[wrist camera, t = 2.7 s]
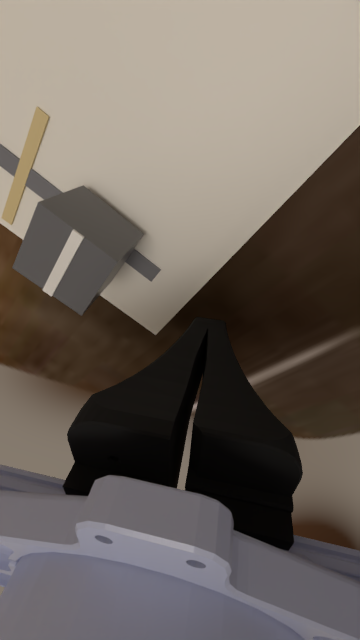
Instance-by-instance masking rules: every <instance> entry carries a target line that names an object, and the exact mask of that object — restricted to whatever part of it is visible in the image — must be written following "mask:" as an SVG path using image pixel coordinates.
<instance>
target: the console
mask: <svg viewBox="0 0 360 640" xmlns="http://www.w3.org/2000/svg"><path fill="white" fill-rule="evenodd" d="M359 125H360V0H0V223H1V224H2V225H3V226H5V227H6V228H8V229H9V230H10V231H12V232H13V233H15V234H16V235H17V236H19V237H20V238H21V239H23V240H24V237H25V234H26V232H27V229H28V227H29V224H30V222H31V219H32V217H33V214H34V211H35V209H36V206H37V204H38V202H39V201H42V200H45V199H47V198H50V197H53V196H56V195H58V194H61V193H64V192H66V191H69V190H72V189H75V188H77V187H80V186H83V185H84V186H85V187H86V188H87V189H89V190H90V191H91V192H92V193H94V194H95V195H96V196H97V197H99V198H100V199H101V200H102V201H104V202H105V203H106V204H107V205H108V206H110V207H111V208H112V209H113V210H115V211H116V212H117V213H118V214H120V215H121V216H122V217H123V218H125V219H126V220H127V221H128V222H130V223H131V224H132V225H133V226H135V227H136V228H137V229H138V230H140V231H141V232H142V233H143V234H144V235H143V237H142V238H141V240H140V241H139V243H138V244H137V245H136V247H135V248H134V250H133V251H132V253H131V254H130V255H129V257H128V258H127V260H126V261H125V263H124V264H123V266H122V267H121V268H120V270H119V271H118V273H117V274H116V276H115V277H114V279H113V280H112V281H111V283H110V284H109V285H108V286H107V287H106V288H105V289H104V291H103V292H102V293H101V294H100V295H101V296H102V297H103V298H105V299H106V300H108V301H109V302H110V303H112V304H113V305H114V306H116V307H117V308H119V309H120V310H121V311H123V312H124V313H126V314H127V315H128V316H130V317H131V318H133V319H134V320H135V321H137V322H138V323H139V324H141V325H142V326H144V327H145V328H146V329H148V330H149V331H151V332H152V333H153V334H155V335H156V334H157V333H158V332H159V331H160V330H161V329H162V328H163V327H164V326H165V325H166V324H167V323H168V322H169V321H170V320H171V319H172V318H173V317H174V316H175V315H176V314H177V313H178V312H179V311H180V310H181V308H182V307H183V306H184V305H185V304H186V303H187V302H188V301H189V300H190V299H191V298H192V297H193V296H194V295H195V294H196V293H197V292H198V291H199V290H200V289H201V288H202V287H203V286H204V285H205V284H206V283H207V282H208V281H209V280H210V279H211V278H212V277H213V276H214V275H215V273H216V272H217V271H218V270H219V269H220V268H221V267H222V266H223V265H224V264H225V263H226V262H227V261H228V260H229V259H230V258H231V257H232V256H233V255H234V254H235V253H236V252H237V251H238V250H239V249H240V248H241V247H242V246H243V245H244V244H245V243H246V242H247V241H248V240H249V238H250V237H251V236H252V235H253V234H254V233H255V232H256V231H257V230H258V229H259V228H260V227H261V226H262V225H263V224H264V223H265V222H266V221H267V220H268V219H269V218H270V217H271V216H272V215H273V214H274V213H275V212H276V211H277V210H278V209H279V208H280V207H281V206H282V205H283V204H284V202H285V201H286V200H287V199H288V198H289V197H290V196H291V195H292V194H293V193H294V192H295V191H296V190H297V189H298V188H299V187H300V186H301V185H302V184H303V183H304V182H305V181H306V180H307V179H308V178H309V177H310V176H311V175H312V174H313V173H314V172H315V171H316V170H317V169H318V167H319V166H320V165H321V164H322V163H323V162H324V161H325V160H326V159H327V158H328V157H329V156H330V155H331V154H332V153H333V152H334V151H335V150H336V149H337V148H338V147H339V146H340V145H341V144H342V143H343V142H344V141H345V140H346V139H347V138H348V137H349V136H350V135H351V134H352V132H353V131H354V130H355V129H356V128H357V127H358V126H359Z"/></svg>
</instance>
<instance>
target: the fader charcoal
mask: <svg viewBox="0 0 360 640" xmlns="http://www.w3.org/2000/svg"><path fill="white" fill-rule="evenodd" d="M143 235H144V234H143V233H142V232H141V231H140V230H138V229H137V228H136V227H135V226H133V225H132V224H131V223H130V222H128V221H127V220H126V219H125V218H123V217H122V216H121V215H120V214H118V213H117V212H116V211H115V210H113V209H112V208H111V207H110V206H108V205H107V204H106V203H105V202H104V201H102V200H101V199H100V198H99V197H97V196H96V195H95V194H94V193H92V192H91V191H90V190H89V189H87V188H86V187H85V186H84V185H83V186H80V187H77V188H75V189H72V190H69V191H66V192H64V193H61V194H58V195H56V196H53V197H50V198H47V199H45V200H42V201H39V202H38V204H37V206H36V209H35V211H34V214H33V217H32V219H31V222H30V224H29V227H28V229H27V232H26V234H25V237H24V240H23V242H22V245H21V247H20V250H19V252H18V255H17V258H16V260H15V263H14V265H13V269H15V270H16V271H18V272H19V273H20V274H22V275H23V276H25V277H26V278H28V279H29V280H31V281H32V282H34V283H35V284H36V285H38V286H39V287H41V288H42V289H43V291H44V292H46V293H47V294H49V295H50V296H51V297H52V296H54V297H55V298H57V299H58V300H60V301H61V302H62V303H64V304H65V305H67V306H68V307H70V308H71V309H73V310H74V311H76V312H77V313H78V314H80V315H81V316H82V315H83V313H84V312H85V311H86V310H87V309H88V308H89V307H90V305H91V304H92V303H93V302H94V301H95V300H96V299H97V297H98V296H99V295H100V294H101V293H102V292H103V291H104V289H105V288H106V287H107V286H108V285H109V284H110V283H111V281H112V280H113V279H114V277H115V276H116V274H117V273H118V271H119V270H120V268H121V267H122V266H123V264H124V263H125V261H126V260H127V258H128V257H129V255H130V254H131V253H132V251H133V250H134V248H135V247H136V245H137V244H138V243H139V241H140V240H141V238H142V237H143Z"/></svg>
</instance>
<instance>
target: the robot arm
mask: <svg viewBox="0 0 360 640" xmlns="http://www.w3.org/2000/svg"><path fill="white" fill-rule="evenodd" d="M202 374H203V380H202V387H201V391H200V396H199V400H198V405H197V409H196V413H195V418H194V422H193V430H192V440H191V449H190V459H189V467H188V473H187V478H186V484H185V490H180V489H177V484H178V478H179V472H180V467H181V462H182V456H183V451H184V445H185V440H186V435H187V429H188V425H189V420H190V416H191V412H192V408H193V405H194V401H195V398H196V395H197V391H198V388H199V384H200V381H201V378H202ZM67 436H68V442H69V445H70V448H71V451H72V454H73V457H74V460H75V463H74V465H73V467H72V469H71V471H70V473H69V475H68V477H67V478H66V480H63V479H58V478H54V477H50V476H46V475H42V474H38V473H33V472H29V471H25V470H21V469H16V468H13V467H9V466H4V465H0V586H2V587H4V590H3V592H2V594H1V596H0V640H360V551H358V550H354V549H350V548H346V547H342V546H337V545H333V544H329V543H325V542H321V541H317V540H313V539H308V538H304V537H300V536H296V535H293V526H292V517H291V513H292V512H293V499H292V494H293V493H294V491H295V489H296V488H297V486H298V484H299V482H300V480H301V478H302V473H303V472H302V465H301V460H300V456H299V452H298V449H297V446H296V443H295V440H294V437H293V435H292V433H291V432H290V431H289V430H288V429H287V428H286V427H285V426H284V425H283V424H282V423H281V422H280V421H279V420H278V419H277V418H276V417H275V416H274V415H273V414H272V412H271V411H270V410H269V409H268V408H267V407H266V405H265V404H264V403H263V401H262V400H261V399H260V397H259V396H258V395H257V393H256V392H255V391H254V389H253V388H252V386H251V385H250V383H249V382H248V380H247V378H246V377H245V375H244V373H243V371H242V369H241V367H240V365H239V363H238V361H237V359H236V357H235V354H234V352H233V349H232V347H231V344H230V341H229V337H228V334H227V329H226V323H225V321H222V320H215V319H208V318H201V317H196V318H195V319H194V320H193V322H192V323H191V325H190V326H189V327H188V329H187V330H186V331H185V332H184V333H183V335H182V336H181V337H180V338H179V339H178V340H177V341H176V342H175V343H174V344H173V345H172V346H171V347H170V348H169V349H168V350H167V351H166V352H165V353H164V354H163V355H161V356H160V357H159V358H158V359H157V360H155V361H154V362H153V363H151V364H150V365H149V366H147V367H146V368H144V369H143V370H141V371H140V372H138V373H137V374H135V375H133V376H132V377H130V378H128V379H126V380H124V381H122V382H121V383H119V384H116V385H114V386H112V387H110V388H107V389H105V390H103V391H100V392H98V393H95V394H93V395H92V396H91V397H90V398H89V400H88V401H87V402H86V403H85V405H84V406H83V407H82V409H81V410H80V412H79V413H78V415H77V417H76V418H75V420H74V422H73V423H72V425H71V427H70V428H69V431H68V434H67Z"/></svg>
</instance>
